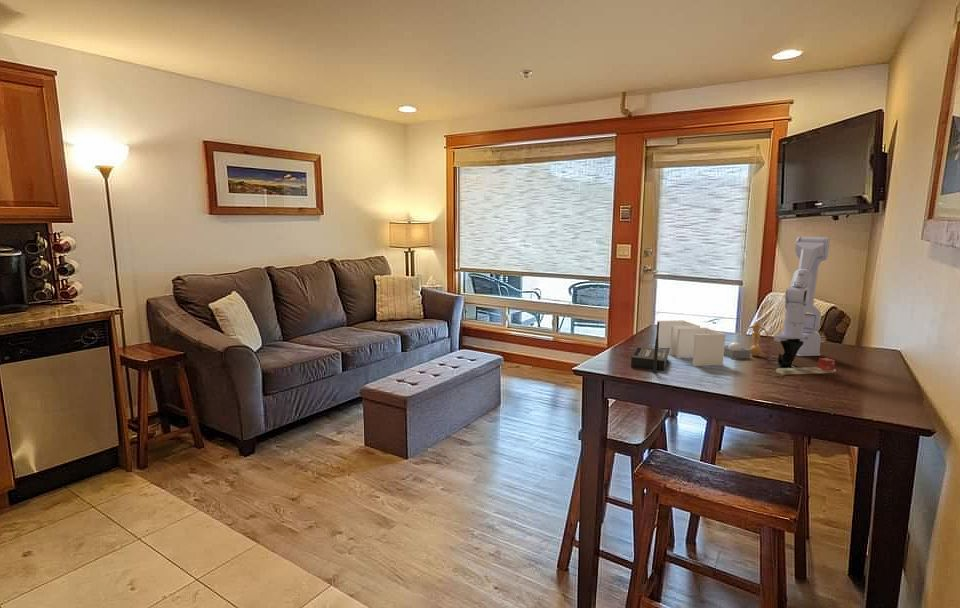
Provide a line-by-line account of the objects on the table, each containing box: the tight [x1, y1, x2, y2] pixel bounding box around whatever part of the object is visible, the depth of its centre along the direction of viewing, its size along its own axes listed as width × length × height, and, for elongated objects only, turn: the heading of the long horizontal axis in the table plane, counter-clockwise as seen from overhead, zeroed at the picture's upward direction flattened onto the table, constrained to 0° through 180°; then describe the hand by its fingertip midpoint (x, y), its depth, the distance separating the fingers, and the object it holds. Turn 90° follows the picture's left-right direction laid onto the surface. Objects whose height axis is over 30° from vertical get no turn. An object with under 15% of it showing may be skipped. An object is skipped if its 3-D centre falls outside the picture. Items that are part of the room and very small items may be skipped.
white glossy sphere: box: [727, 341, 743, 350], centre depth 186 cm, size 5×5×5 cm
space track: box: [775, 357, 837, 376], centre depth 166 cm, size 20×4×4 cm, turn 100°
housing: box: [723, 345, 751, 360], centre depth 186 cm, size 7×7×3 cm
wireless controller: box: [630, 321, 669, 374], centre depth 171 cm, size 20×14×17 cm
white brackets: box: [655, 319, 727, 367], centre depth 184 cm, size 25×11×11 cm, turn 11°
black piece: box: [769, 352, 797, 369], centre depth 173 cm, size 12×7×5 cm, turn 168°
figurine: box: [743, 323, 769, 357], centre depth 187 cm, size 8×6×12 cm
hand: (789, 360), depth 176 cm, fingers closed
